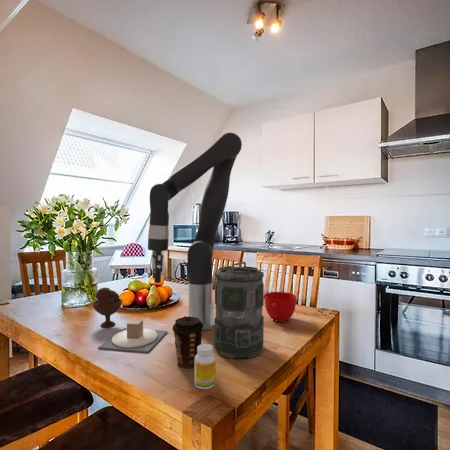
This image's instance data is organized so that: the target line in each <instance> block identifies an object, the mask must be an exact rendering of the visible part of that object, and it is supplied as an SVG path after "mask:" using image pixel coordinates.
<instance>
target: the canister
mask: <svg viewBox="0 0 450 450" xmlns="http://www.w3.org/2000/svg"><path fill="white" fill-rule="evenodd" d="M246 263H247V262H245V261H240V262H236V263H232V265H230V266H221V267H219V268H217V270H216V271H214V276H215V282H214V306H215V316H214V325H213V328H214V329H213V333H214V335H213V338H214V339H213V343H214V348H215V350H216V351H217V352H218V354H219V355H221V356H223V357H226V358H229V359H233V358H234V359H235V358H247V359H251V358H254V357H257V356H258V355H260V354H261V353H262V350H263V349H264V332H265V331H264V329H265V328H264V321H265V319H264V315H263V306H264V304H265V294H264V293H265V292H264V291H265V290H264V289H265V288H264V287H265V286H264V285H265V284H264V282H263V278H264V276H265V274H264V272H263V271H261V270H260V269H258V268H257V267H255V266H247V264H246ZM240 265H243V266H240Z"/></svg>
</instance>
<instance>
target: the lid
mask: <svg viewBox="0 0 450 450" xmlns="http://www.w3.org/2000/svg"><path fill="white" fill-rule="evenodd" d="M126 328H127V330H125V331H122V332H120V331H118V332H119V333H118V332H117V333H115V334H114V335H113V336H111V337H112V343H113V344H114V345H115V346H117V347H122V348H135V347H141V346H145V345H148V344H151V343H152V342H154V341H155V340H156V339H157V332H156V331H154V330H155V329H151V328H146V327H145V328H144V320H143V319H142V320H141V319H131V320H130V321H128V322H126Z"/></svg>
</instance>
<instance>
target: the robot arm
mask: <svg viewBox="0 0 450 450" xmlns="http://www.w3.org/2000/svg"><path fill="white" fill-rule="evenodd" d="M217 139H218V140H216V141H215V142H214V144H212V145H211V146H210V147H209V148H208V149H207V150H205V151H204V152H203V153H201V154H200V155H199V156H197V157H196V158H194V159H193V160H191V161H189V162H188V163H186V164H184V165H183V166H182V167H180V168H179V169H177V170H176V171H174V172H173V173H172V174H171V175H170V177H169V178H168V179H167V180H165V181H163V182H162V183H156V184H154V185H153V186H152V187H151V188H150V192H149V209H150V214H149V228H148V236H147V238H148V239H147V249H148V251H152V254H151V265H152V266H151V267H152V279H154V280H153V281H154V283H155V284H160V283H161V281H162V273H163V266H164V262H163V261H164V255H163V254H162V252H166V251H168V250H169V241H170V240H169V238H170V230H169V229H170V228H169V223H170V222H169V221H170V214H169V201H170V200H172V199H173V198H174V197H176V196H177V195H178V194H179V193H181V191H183V190H184V189H186V188H189V186H191V185H193V184H194V183H195V182H196V181H197V180H199V179H200V178H201V177H202V176H203V175H205V174H206V173H207V172H209V170H211V169H212V170H211V173H210V176H209V178H208V180H207V183H206V186H205V189H204V193H203V196H202V200H201V204H200V210H199V211H200V213H199V221H198V222H199V223H198V228H197V231H196V235H195V237H194V239H193V243H192V244H191V245H190V246H189V248H188V250H187V277H188V278H187V279H188V317H189V316H190V317H197V318H199V319H200V320H201V323H202V324H203V328H202V331H208V330H209V331H210V330H212V328H213V327H214V319H215V314H214V311H215V308H214V306H215V300H213V277H214V276H213V255H214V246H215V240H216V236H217V235H216V234H217V230H218V227H219V225H220V223H221V220H222V218H223V214H224V212H225V208H226V206H227V200H228V197H229V189H230V181H231V173H232V171H233V170H232V169H233V167H234V165H235V162H236V159H237V157H238V155H239V154H240V152H241V150H242V147H243V146H242V145H243V144H242V140H241V137H240V136H239V135H238V134H236V133H234V132H226V133H224V134H222V135H220V136H219V138H217Z"/></svg>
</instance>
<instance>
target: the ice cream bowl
mask: <svg viewBox="0 0 450 450" xmlns="http://www.w3.org/2000/svg"><path fill="white" fill-rule="evenodd" d="M95 298H96V300H94V301H92V303H91V304H92V307H93V310H94V311H95V312H97V313H98V315H99V314H100V315H101V316H104V317H105V320H104V321H103V322H102V323H101V324H100V327H101V328H103V329H107V328H108V329H109V328H112V327H115V326H116V323H115V322H114V321H112V320H111V316H112V315H114V314H115V313H117V311H118V310H119V309H120V308H121V306H122V304H123V301H124V300H123V299H121V298H120V294H119V293H118V292H116V291H115V290H113V289H111V288H109V287H101V288H98V290H97V291H96V293H95Z"/></svg>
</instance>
